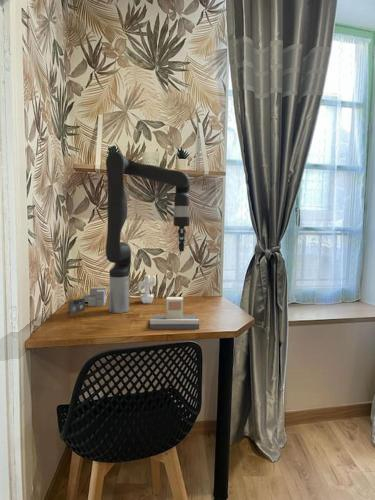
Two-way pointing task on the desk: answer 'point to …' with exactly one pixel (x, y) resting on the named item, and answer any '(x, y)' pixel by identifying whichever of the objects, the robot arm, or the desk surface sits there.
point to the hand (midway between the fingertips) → (181, 250)
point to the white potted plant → (147, 289)
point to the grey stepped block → (96, 296)
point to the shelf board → (174, 322)
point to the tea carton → (174, 308)
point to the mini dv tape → (76, 306)
